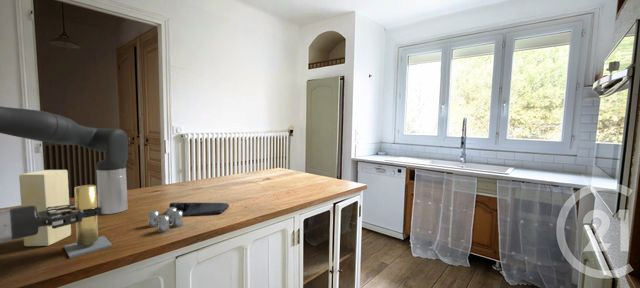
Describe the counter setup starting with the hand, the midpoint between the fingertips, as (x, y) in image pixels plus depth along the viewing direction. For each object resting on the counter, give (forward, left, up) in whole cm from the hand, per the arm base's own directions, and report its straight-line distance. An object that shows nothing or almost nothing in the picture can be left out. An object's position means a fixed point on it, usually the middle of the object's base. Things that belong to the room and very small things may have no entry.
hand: (98, 208), depth 77 cm
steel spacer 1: (-4, +15, -11) cm, 19 cm away
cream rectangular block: (-15, -10, -11) cm, 21 cm away
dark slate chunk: (-8, +34, -11) cm, 36 cm away
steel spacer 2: (+4, +16, -11) cm, 20 cm away
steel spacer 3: (-3, +21, -11) cm, 23 cm away
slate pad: (0, -3, -11) cm, 11 cm away
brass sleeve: (0, -3, -9) cm, 9 cm away
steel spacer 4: (+2, +21, -11) cm, 24 cm away
